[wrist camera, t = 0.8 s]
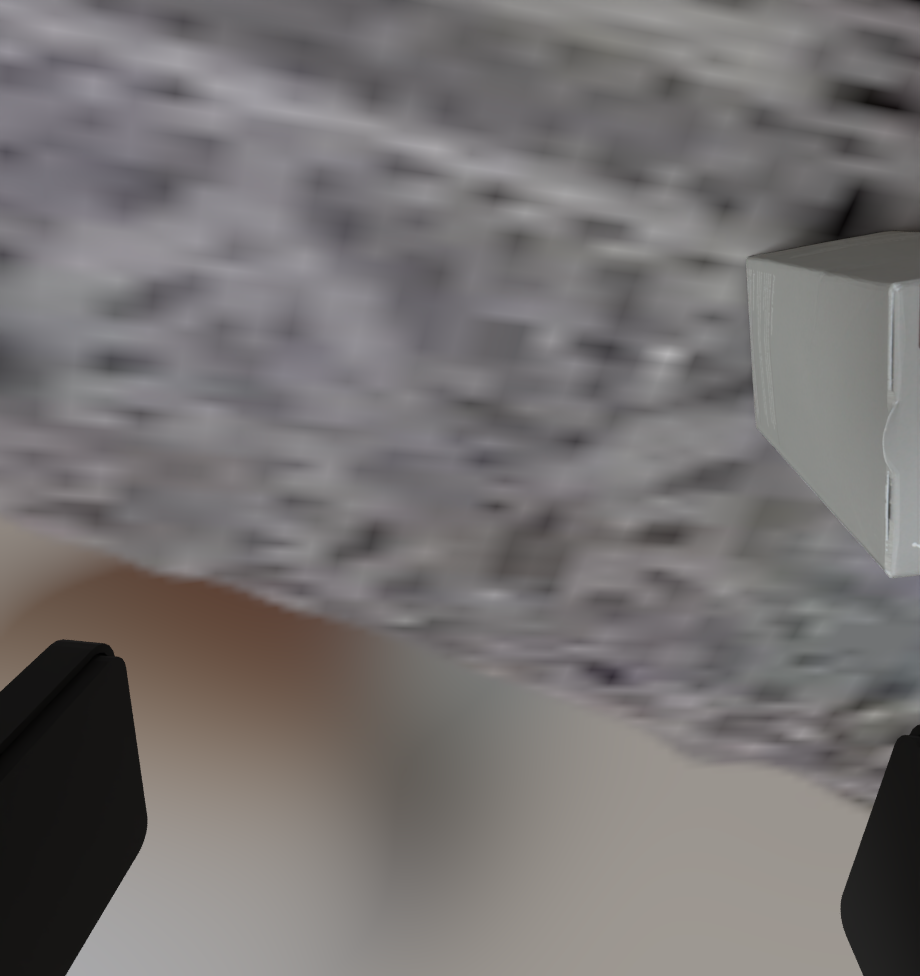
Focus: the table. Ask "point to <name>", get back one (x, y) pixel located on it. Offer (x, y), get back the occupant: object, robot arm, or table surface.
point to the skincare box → (845, 381)
